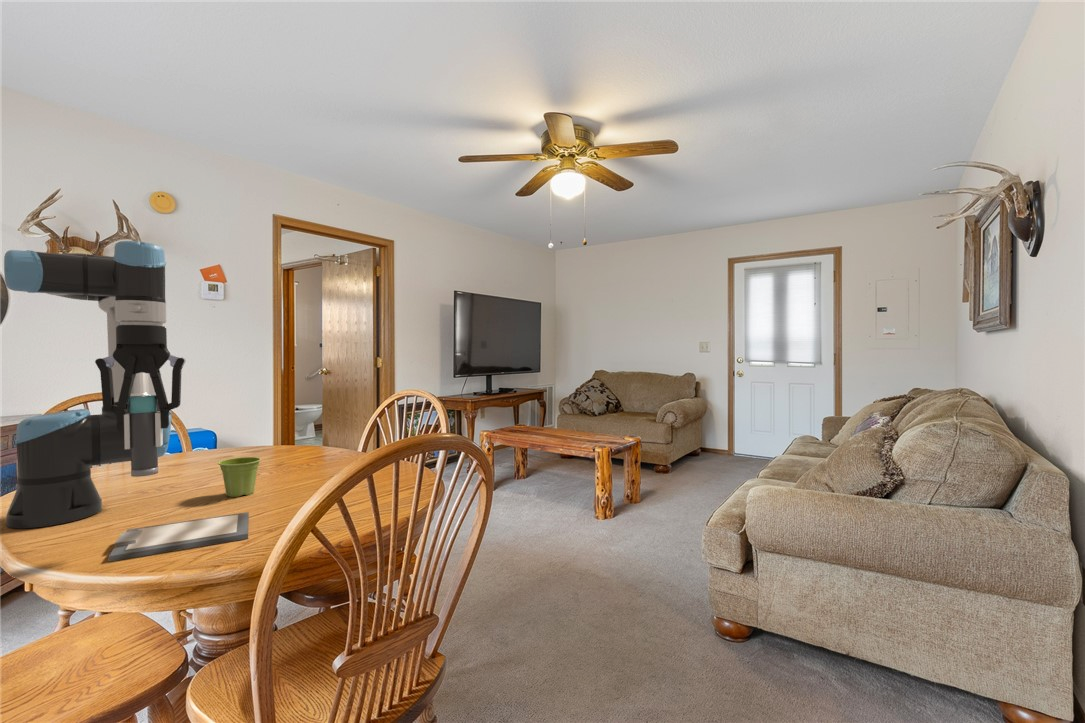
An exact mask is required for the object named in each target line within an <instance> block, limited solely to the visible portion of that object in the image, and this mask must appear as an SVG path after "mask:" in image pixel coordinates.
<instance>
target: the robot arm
mask: <svg viewBox="0 0 1085 723" xmlns="http://www.w3.org/2000/svg"><path fill="white" fill-rule="evenodd" d="M114 244H115V245H114V251H113V252H114V253H113V256H108V255H97V254H90V253H89V254H88V253H81V252H80V253H79V252H78V253H77V252H76V253H75V252H73V253H71V252H70V253H57V252H56V253H55V252H43V251H35V250H21V249H20V250H19V249H11V250H8V251H6V252H5V253H4V259H3V273H4V282H5V286H6V287H7V288H8V290H11V291H14V292H24V293H30V294H31V293H33V294H35V293H38V294H47V295H51V296H56V297H62V298H67V299H71V300H72V299H73V300H79V301H89V302H90V301H94V302H97V304H98V308H99V309H100V310H101V311H102V312H104V313H105V314H106V323H107V324H106V325H107V326H106V327H107V350H108V351H107V352H108V353H107V355H108V356H106V357H102V358H96V359H95V361H94V363H95V365H96V366H97V368H98V370H99V372H100V383H101V384H100V385H101V396H102V407H101V413H100V414H91V412H90V410H89V409H86V408H79V409H69V410H64V411H63V410H62V411H56V412H49V413H44V414H40V415H34V416H31V417H27V418H25V419H22V420H21V421H20V422H19V423H18V424H17V427H16V434H15V435H16V439H15V440H14V444H16V470H17V471H16V473H17V474H16V476H17V488H16V490H15V493H14V496H13V497H12V500H11V503H10V505H9V507H8V510H7V513H6V515H5V516H6V517H5V518H6V520H5V521H6V523H5V524H6V527H8V528H10V529H11V528H13V529H33V528H35V529H36V528H41V527H42V528H43V527H44V528H45V527H51V526H56V525H62V524H66V523H71V522H72V523H73V522H74V521H75V522H77V521H78V520H82V519H83V520H84V519H86V518H89V517H91V516H94V515H97V514H98V513H100V512H101V511H102V509H103V503H102V498H101V495H100V494H99V491H98V490H97V487H96V485H95V483H94V481H93V479H92V475H91V474H92V473H91V472H92V469H91V467H92V466H101V465H108V464H116V463H119V464H120V463H127V462H131V433H130V405H129V397H130V396H142V395H156V398H157V412H156V413H155V434H156V447H158V458H160V457H163V456H164V455H165V454H166V452H167V450H168V447H169V442H170V436H171V430H172V429H171V427H172V410H174V409H177V408H179V407H180V406H181V400H182V399H181V396H182V394H181V393H182V370H183V368H184V366H185V363H186V358H184V357H178V356H176V355H172V354H171V352H170V351H169V350H168V341H167V336H168V335H167V328H166V326H164V325H163V324H166V323H167V302H166V301H167V300H166V266H167V262H166V258H165V250H164V248H163V247H162V246H160V245H158V244H154V243H150V242H144V241H135V240H123V241H117V242H116V243H114ZM167 361H169V365H170V367H172V370H171V371H172V372H171V374H172V375H171V400H170V403H169V402H168V398H167V394H166V391H165V390H166V389H165V387H164V384H163V380H162V374H161V370H160V369H161V368H162V367H163V366H164V365H165V363H167Z"/></svg>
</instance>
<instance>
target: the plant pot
mask: <svg viewBox="0 0 1085 723" xmlns="http://www.w3.org/2000/svg"><path fill="white" fill-rule="evenodd" d="M261 461H262V458H261V457H257V456H242V457H241V456H239V457H232V458H228V459H222V460H220V461H218V463H217V464H218V465H219V466H220V470H221V472H222V478H223V483H224V488H225V494H226V495H225V496H228V497H229V498H230V497H231V498H232V497H234V498H236V497H237V498H239V497H242V496H243V495H246V496H249V495H251V494H254V492H255V486H256V480H257V473H258V467H259V466H260V462H261Z"/></svg>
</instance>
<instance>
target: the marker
mask: <svg viewBox="0 0 1085 723" xmlns="http://www.w3.org/2000/svg"><path fill="white" fill-rule="evenodd" d="M129 405H130V433H131V461H130V468H131V469H130V474H131V475H130V476H131V477H135V478H137V477H139V478H140V477H147V476H148V477H149V476H153V475H157V474H158V473H159V461H158V460H159V459H158V458H159V457H158V447H156V434H155V413H156V412H157V398H156V394H155V395H142V396H130V397H129Z"/></svg>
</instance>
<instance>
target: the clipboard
mask: <svg viewBox="0 0 1085 723" xmlns="http://www.w3.org/2000/svg"><path fill="white" fill-rule="evenodd" d="M249 514H250V513H249V511H246V512H241V513H233V514H226V515H218V516H212V517H205V518H197V519H192V520H191V519H190V520H184V521H177V522H169V523H164V524H157V525H155V524H154V525H150V526H144V527H143V526H141V527H136V528H129V529H127V530H125V531H124V532H121V534H120V535H119V536H118V538H117V539H116V541H115V542H114V548H113V549H112V551H111V552H110V554H109V555H108V562H109V563H111V562H116V561H121V560H127V559H135V558H139V557H141V558H142V557H147V556H152V555H158V554H159V555H160V554H164V553H168V552H170V553H171V552H176V551H182V550H189V549H193V548H194V549H195V548H199V547H206V546H211V545H218V544H225V543H230V542H236V541H241V540H242V541H243V540H249V527H250V526H249V521H250V520H249V518H250V515H249Z"/></svg>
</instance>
